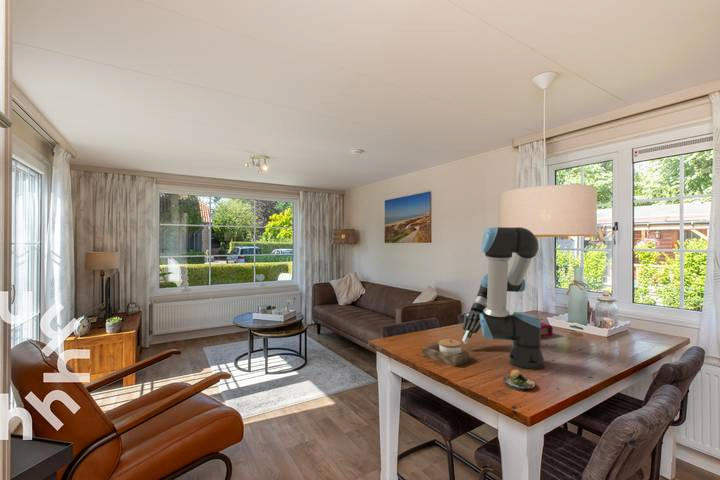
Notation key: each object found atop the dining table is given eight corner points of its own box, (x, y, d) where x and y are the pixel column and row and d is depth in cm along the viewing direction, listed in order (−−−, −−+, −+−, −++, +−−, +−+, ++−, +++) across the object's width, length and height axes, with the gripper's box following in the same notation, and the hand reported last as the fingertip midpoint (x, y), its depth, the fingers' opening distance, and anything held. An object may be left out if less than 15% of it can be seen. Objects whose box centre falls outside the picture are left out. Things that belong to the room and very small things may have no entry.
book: (514, 325, 227) (514, 314, 227) (552, 336, 202) (552, 323, 202) (492, 328, 219) (492, 317, 219) (528, 340, 193) (528, 327, 193)
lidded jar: (464, 362, 157) (464, 342, 157) (441, 361, 157) (441, 342, 157) (457, 354, 167) (458, 335, 167) (436, 354, 168) (436, 335, 168)
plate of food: (526, 395, 124) (526, 375, 124) (497, 384, 133) (497, 365, 133) (541, 387, 131) (541, 368, 131) (513, 377, 140) (513, 359, 140)
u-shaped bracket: (468, 360, 158) (469, 352, 159) (455, 366, 151) (455, 358, 151) (436, 350, 173) (436, 343, 173) (421, 355, 165) (421, 347, 165)
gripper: (493, 312, 182) (478, 349, 171) (471, 308, 192) (456, 343, 181) (488, 304, 178) (473, 341, 167) (466, 300, 188) (450, 335, 177)
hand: (464, 342), depth 174 cm, fingers closed
